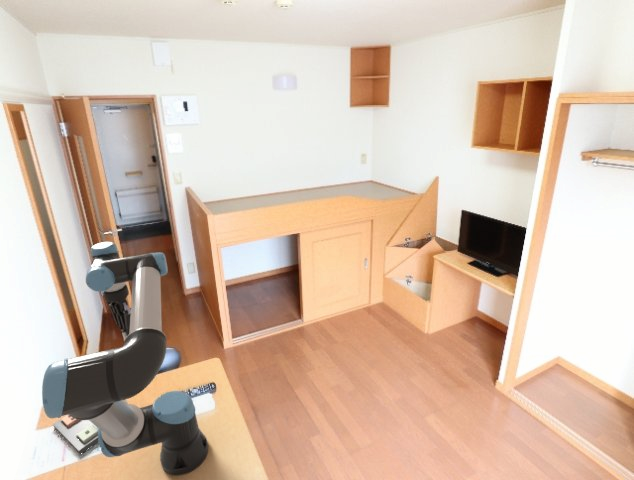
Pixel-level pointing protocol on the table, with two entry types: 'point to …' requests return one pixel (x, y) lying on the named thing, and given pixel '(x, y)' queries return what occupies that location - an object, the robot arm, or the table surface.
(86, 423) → the board
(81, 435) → the pale green button
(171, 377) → the table surface
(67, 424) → the peach rectangular block
